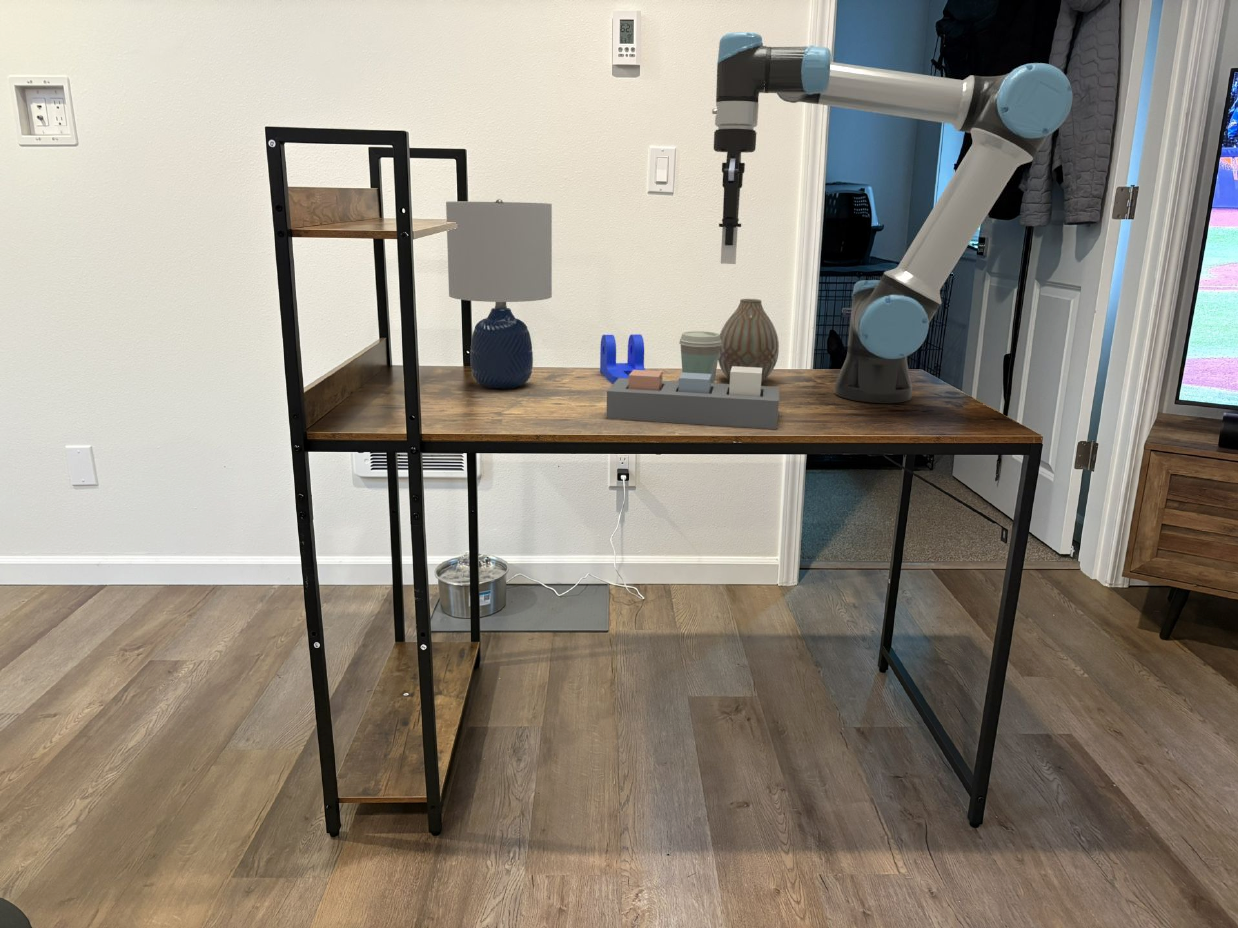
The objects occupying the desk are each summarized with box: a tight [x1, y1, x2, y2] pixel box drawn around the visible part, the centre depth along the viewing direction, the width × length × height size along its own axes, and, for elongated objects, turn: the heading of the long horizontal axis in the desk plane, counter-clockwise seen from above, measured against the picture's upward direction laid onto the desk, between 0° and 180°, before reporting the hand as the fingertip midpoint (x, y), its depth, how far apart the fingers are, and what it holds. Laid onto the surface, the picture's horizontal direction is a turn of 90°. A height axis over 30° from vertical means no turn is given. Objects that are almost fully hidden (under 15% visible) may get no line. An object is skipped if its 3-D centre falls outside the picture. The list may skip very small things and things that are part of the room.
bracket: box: [599, 333, 646, 385], centre depth 194 cm, size 18×8×9 cm, turn 12°
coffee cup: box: [678, 330, 722, 383], centre depth 182 cm, size 9×8×12 cm
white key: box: [729, 366, 762, 397], centre depth 161 cm, size 5×5×4 cm
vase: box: [718, 298, 780, 383], centre depth 194 cm, size 13×13×18 cm
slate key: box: [678, 371, 712, 394], centre depth 163 cm, size 5×5×4 cm
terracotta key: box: [628, 369, 663, 391], centre depth 165 cm, size 5×5×4 cm
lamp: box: [445, 198, 553, 390], centre depth 181 cm, size 20×20×37 cm
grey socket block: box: [606, 378, 780, 430], centre depth 164 cm, size 30×12×5 cm, turn 80°
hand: (728, 263), depth 169 cm, fingers closed
